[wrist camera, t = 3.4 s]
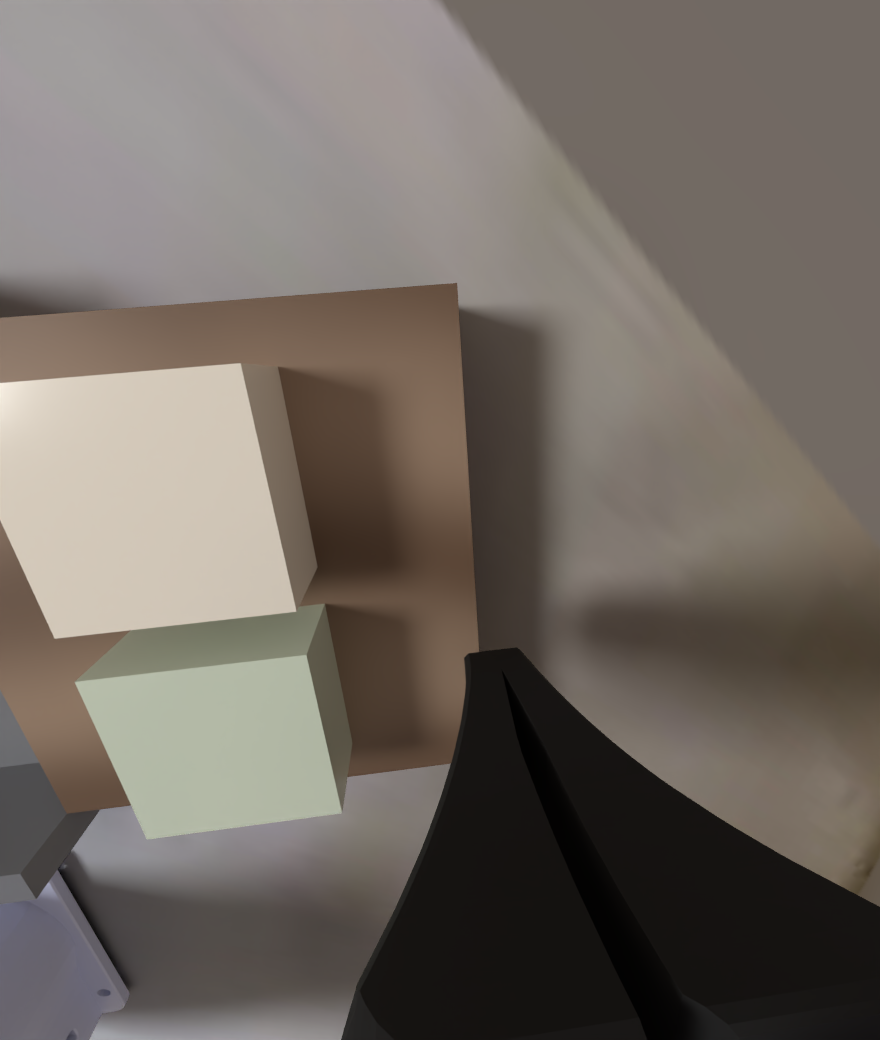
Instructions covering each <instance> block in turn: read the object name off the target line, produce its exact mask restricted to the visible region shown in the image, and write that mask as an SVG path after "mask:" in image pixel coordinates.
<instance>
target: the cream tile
mask: <svg viewBox="0 0 880 1040" xmlns="http://www.w3.org/2000/svg"><path fill="white" fill-rule="evenodd" d="M0 521H1V523H2V525H3V528H4V530H5V532H6V534H7V536H8V538H9V541H10V543H11V545H12V547H13V549H14V551H15V554H16V556H17V558H18V560H19V562H20V564H21V567H22V569H23V571H24V573H25V575H26V578H27V580H28V582H29V584H30V586H31V588H32V591H33V593H34V595H35V597H36V599H37V601H38V604H39V606H40V608H41V610H42V612H43V614H44V617H45V619H46V621H47V623H48V625H49V628H50V630H51V632H52V634H53V636H54V638H55V639H57V638H66V637H75V636H84V635H93V634H102V633H111V632H120V631H129V630H138V629H147V628H155V627H164V626H173V625H182V624H191V623H200V622H209V621H218V620H227V619H236V618H245V617H254V616H263V615H272V614H281V613H290V612H297V610H298V608H299V606H300V603H301V601H302V599H303V597H304V595H305V593H306V591H307V589H308V586H309V584H310V582H311V580H312V578H313V576H314V574H315V572H316V569H317V562H316V556H315V551H314V546H313V541H312V536H311V531H310V526H309V521H308V516H307V511H306V506H305V501H304V496H303V491H302V486H301V481H300V476H299V471H298V466H297V461H296V456H295V451H294V446H293V441H292V435H291V430H290V425H289V420H288V415H287V410H286V405H285V400H284V395H283V390H282V385H281V380H280V375H279V370H278V367H276V366H265V365H255V364H244V363H236V364H224V365H212V366H200V367H188V368H176V369H164V370H152V371H140V372H128V373H116V374H104V375H92V376H80V377H67V378H55V379H43V380H31V381H19V382H7V383H0Z"/></svg>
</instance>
